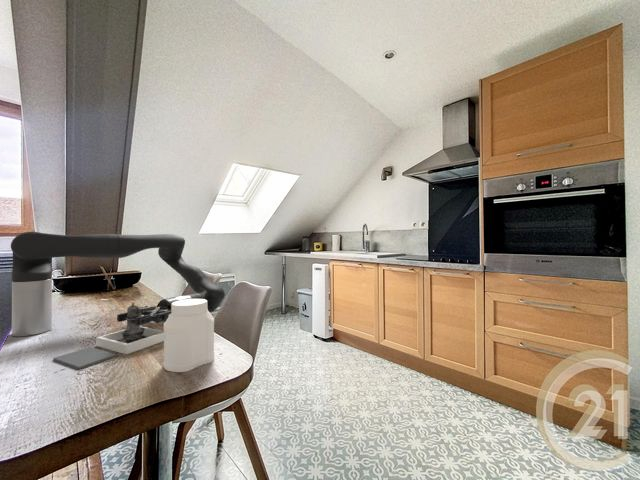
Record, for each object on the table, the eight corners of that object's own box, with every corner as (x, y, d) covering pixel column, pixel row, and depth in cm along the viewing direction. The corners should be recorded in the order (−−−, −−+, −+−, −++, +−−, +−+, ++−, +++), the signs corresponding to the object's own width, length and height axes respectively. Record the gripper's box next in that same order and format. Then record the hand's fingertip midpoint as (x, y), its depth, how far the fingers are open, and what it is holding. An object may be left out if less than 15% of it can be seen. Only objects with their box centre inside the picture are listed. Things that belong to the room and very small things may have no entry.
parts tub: (96, 346, 80) (96, 337, 80) (138, 333, 91) (138, 325, 91) (126, 354, 74) (126, 345, 74) (167, 339, 85) (167, 331, 85)
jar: (176, 376, 62) (176, 309, 62) (156, 364, 68) (156, 303, 68) (221, 358, 72) (221, 300, 72) (200, 349, 77) (200, 296, 77)
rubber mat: (53, 360, 70) (53, 357, 70) (90, 349, 78) (90, 346, 78) (79, 369, 65) (79, 367, 65) (116, 356, 73) (116, 354, 73)
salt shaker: (133, 347, 79) (132, 305, 79) (115, 345, 80) (115, 304, 80) (149, 340, 85) (149, 300, 85) (133, 338, 86) (133, 299, 86)
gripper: (162, 295, 98) (111, 304, 84) (190, 298, 92) (142, 309, 78) (162, 316, 98) (111, 329, 84) (190, 321, 92) (142, 336, 78)
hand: (126, 320), depth 81 cm, fingers open, 8 cm apart
